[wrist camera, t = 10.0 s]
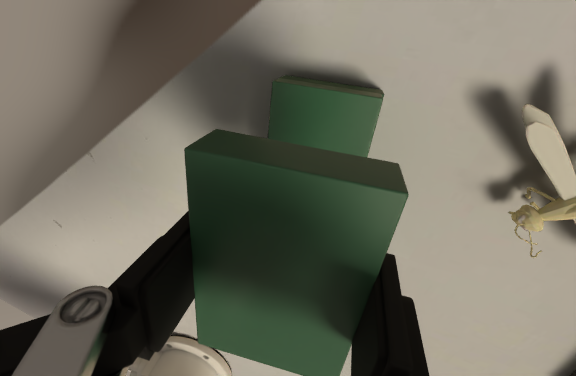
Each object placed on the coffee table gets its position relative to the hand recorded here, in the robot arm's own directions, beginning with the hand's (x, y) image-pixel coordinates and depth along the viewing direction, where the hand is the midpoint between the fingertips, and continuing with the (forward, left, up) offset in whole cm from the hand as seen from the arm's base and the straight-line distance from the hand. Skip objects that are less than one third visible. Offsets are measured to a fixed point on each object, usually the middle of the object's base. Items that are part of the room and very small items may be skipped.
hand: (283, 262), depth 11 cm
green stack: (0, 0, -13) cm, 13 cm away
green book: (0, 0, -1) cm, 1 cm away
